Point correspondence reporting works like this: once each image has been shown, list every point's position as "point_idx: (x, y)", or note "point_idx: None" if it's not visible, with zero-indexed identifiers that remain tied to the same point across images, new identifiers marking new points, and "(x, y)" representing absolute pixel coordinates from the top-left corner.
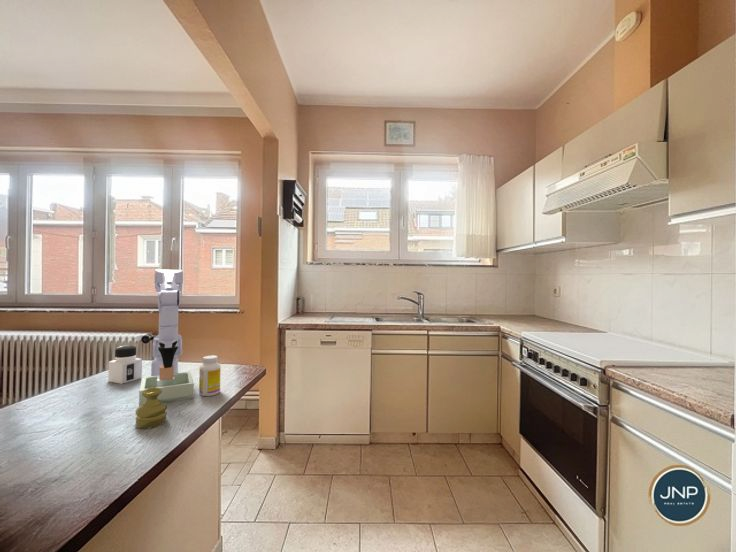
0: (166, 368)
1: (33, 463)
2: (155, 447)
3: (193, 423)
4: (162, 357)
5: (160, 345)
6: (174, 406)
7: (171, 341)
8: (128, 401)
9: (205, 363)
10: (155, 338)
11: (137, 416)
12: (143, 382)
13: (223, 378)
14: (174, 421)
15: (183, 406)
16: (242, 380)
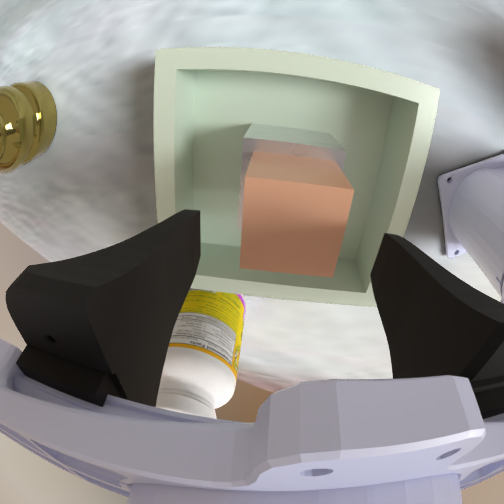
0: (244, 220)
1: None
2: None
3: (12, 216)
4: (114, 247)
5: (477, 322)
6: (125, 179)
7: (10, 437)
8: (289, 16)
9: (160, 387)
10: (474, 443)
11: (18, 86)
12: (324, 69)
13: (349, 355)
14: (25, 177)
15: (114, 206)
16: (287, 382)
